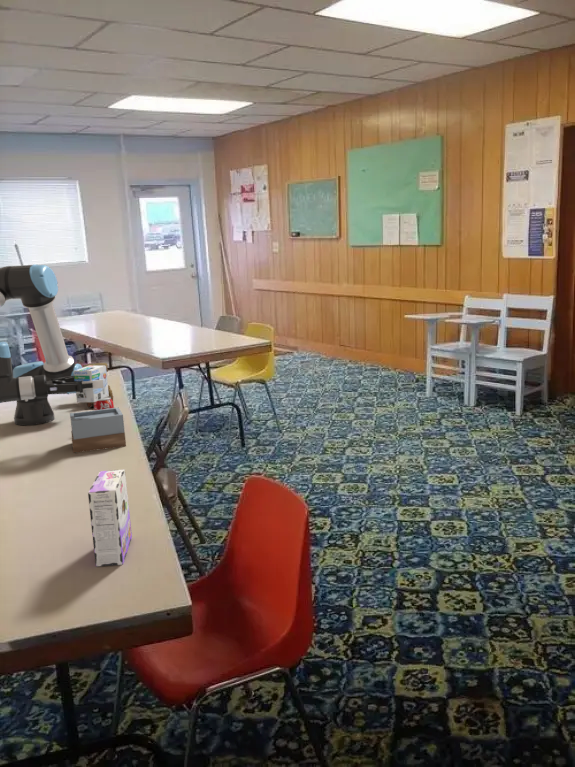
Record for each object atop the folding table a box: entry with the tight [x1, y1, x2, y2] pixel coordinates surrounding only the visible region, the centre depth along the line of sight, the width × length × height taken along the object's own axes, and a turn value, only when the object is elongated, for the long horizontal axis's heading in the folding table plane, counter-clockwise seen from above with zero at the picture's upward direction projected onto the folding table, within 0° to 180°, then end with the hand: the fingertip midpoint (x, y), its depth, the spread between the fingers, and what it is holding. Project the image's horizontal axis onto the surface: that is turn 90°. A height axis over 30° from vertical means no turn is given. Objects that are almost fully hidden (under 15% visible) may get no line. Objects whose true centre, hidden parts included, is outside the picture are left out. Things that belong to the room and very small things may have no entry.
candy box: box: [87, 469, 133, 567], centre depth 147 cm, size 14×6×16 cm, turn 5°
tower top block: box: [69, 407, 126, 439], centre depth 234 cm, size 12×16×6 cm
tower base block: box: [71, 430, 127, 454], centre depth 235 cm, size 13×17×5 cm
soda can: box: [93, 397, 115, 411], centre depth 254 cm, size 7×7×12 cm
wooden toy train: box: [82, 362, 114, 408], centre depth 301 cm, size 20×11×17 cm, turn 19°
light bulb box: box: [74, 365, 109, 403], centre depth 231 cm, size 11×7×11 cm, turn 167°
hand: (102, 380), depth 232 cm, fingers closed on light bulb box, 12 cm apart
